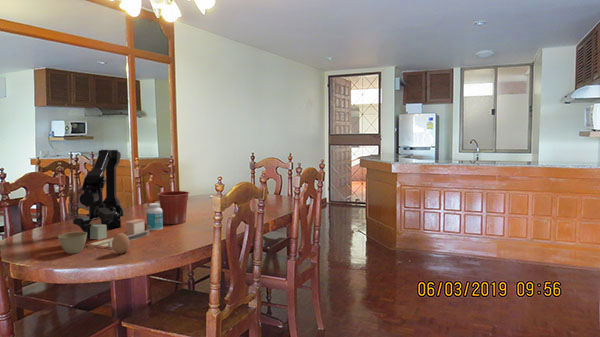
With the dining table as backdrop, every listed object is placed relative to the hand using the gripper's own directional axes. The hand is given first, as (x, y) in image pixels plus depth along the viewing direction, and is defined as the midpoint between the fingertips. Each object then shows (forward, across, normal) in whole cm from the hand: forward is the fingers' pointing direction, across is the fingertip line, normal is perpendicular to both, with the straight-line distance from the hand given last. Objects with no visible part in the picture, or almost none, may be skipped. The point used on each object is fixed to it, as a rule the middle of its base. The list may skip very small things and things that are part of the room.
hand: (96, 236), depth 178 cm
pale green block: (+2, 0, 0) cm, 2 cm away
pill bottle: (+2, +24, -11) cm, 26 cm away
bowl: (+2, -17, -7) cm, 18 cm away
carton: (0, +9, -14) cm, 16 cm away
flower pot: (+2, +44, -6) cm, 44 cm away
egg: (+2, -11, -26) cm, 28 cm away
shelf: (+2, +2, -12) cm, 12 cm away
